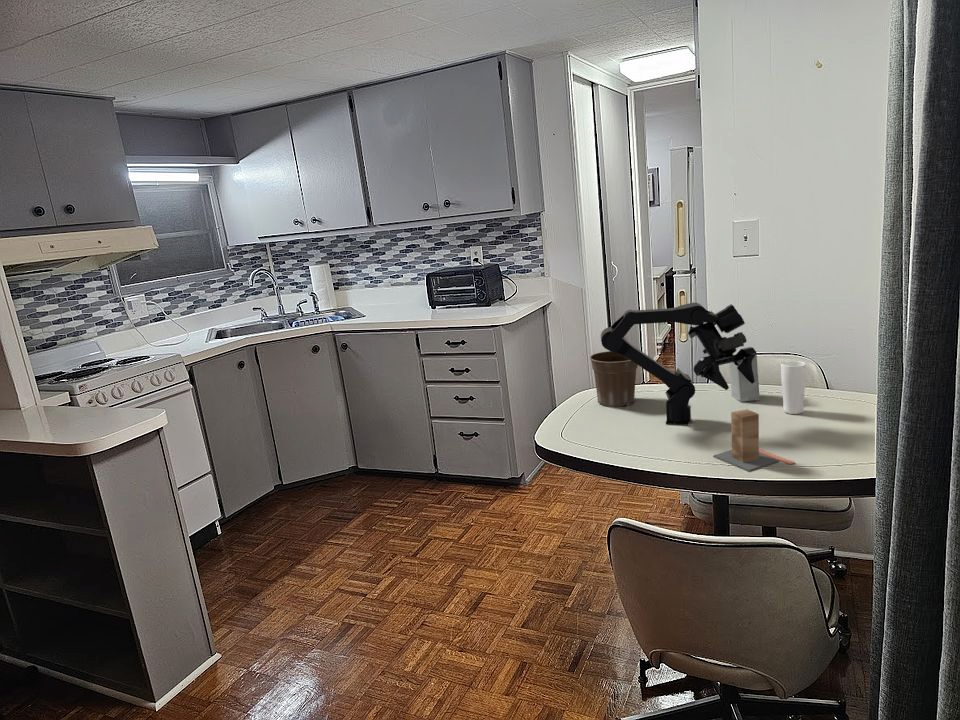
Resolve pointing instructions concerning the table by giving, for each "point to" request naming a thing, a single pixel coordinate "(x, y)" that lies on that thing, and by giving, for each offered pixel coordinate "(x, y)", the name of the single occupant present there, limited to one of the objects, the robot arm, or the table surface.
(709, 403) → the table surface
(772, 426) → the table surface
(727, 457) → the mat
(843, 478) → the table surface
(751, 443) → the walnut block
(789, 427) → the table surface
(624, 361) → the plant pot
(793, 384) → the drinking glass
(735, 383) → the skincare box
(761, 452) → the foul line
